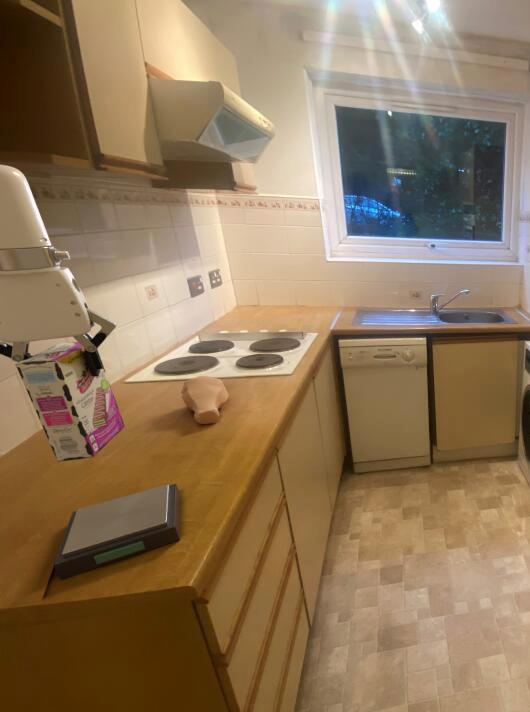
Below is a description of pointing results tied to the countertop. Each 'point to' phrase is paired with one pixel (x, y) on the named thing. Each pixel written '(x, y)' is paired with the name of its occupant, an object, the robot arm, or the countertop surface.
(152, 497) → the scale pan
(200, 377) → the squash
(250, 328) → the countertop surface
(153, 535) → the scale
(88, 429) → the candy bar box
